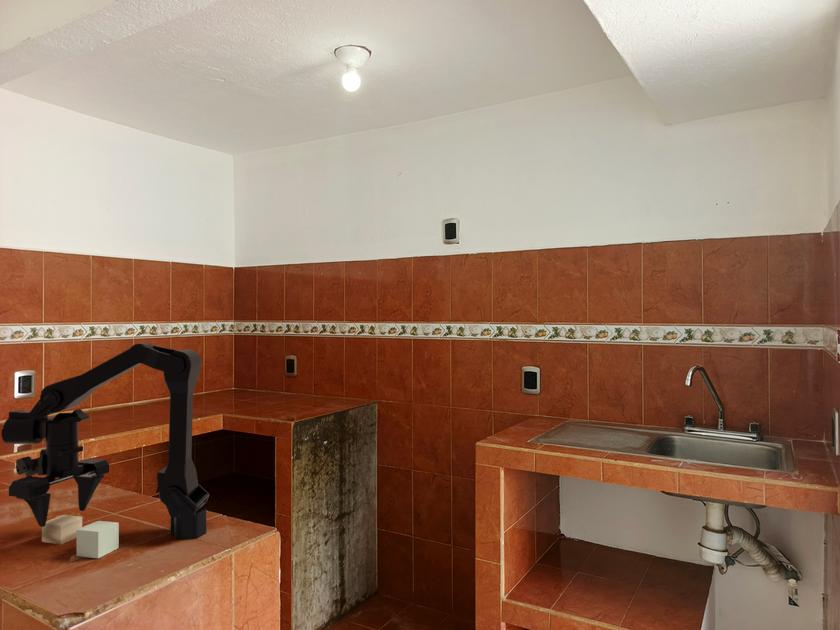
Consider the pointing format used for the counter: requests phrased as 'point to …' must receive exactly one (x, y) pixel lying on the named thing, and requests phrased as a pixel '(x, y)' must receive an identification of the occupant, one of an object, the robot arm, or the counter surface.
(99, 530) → the sage block
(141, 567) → the counter surface
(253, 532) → the counter surface
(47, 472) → the robot arm
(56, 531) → the maple block
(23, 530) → the counter surface
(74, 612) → the counter surface
